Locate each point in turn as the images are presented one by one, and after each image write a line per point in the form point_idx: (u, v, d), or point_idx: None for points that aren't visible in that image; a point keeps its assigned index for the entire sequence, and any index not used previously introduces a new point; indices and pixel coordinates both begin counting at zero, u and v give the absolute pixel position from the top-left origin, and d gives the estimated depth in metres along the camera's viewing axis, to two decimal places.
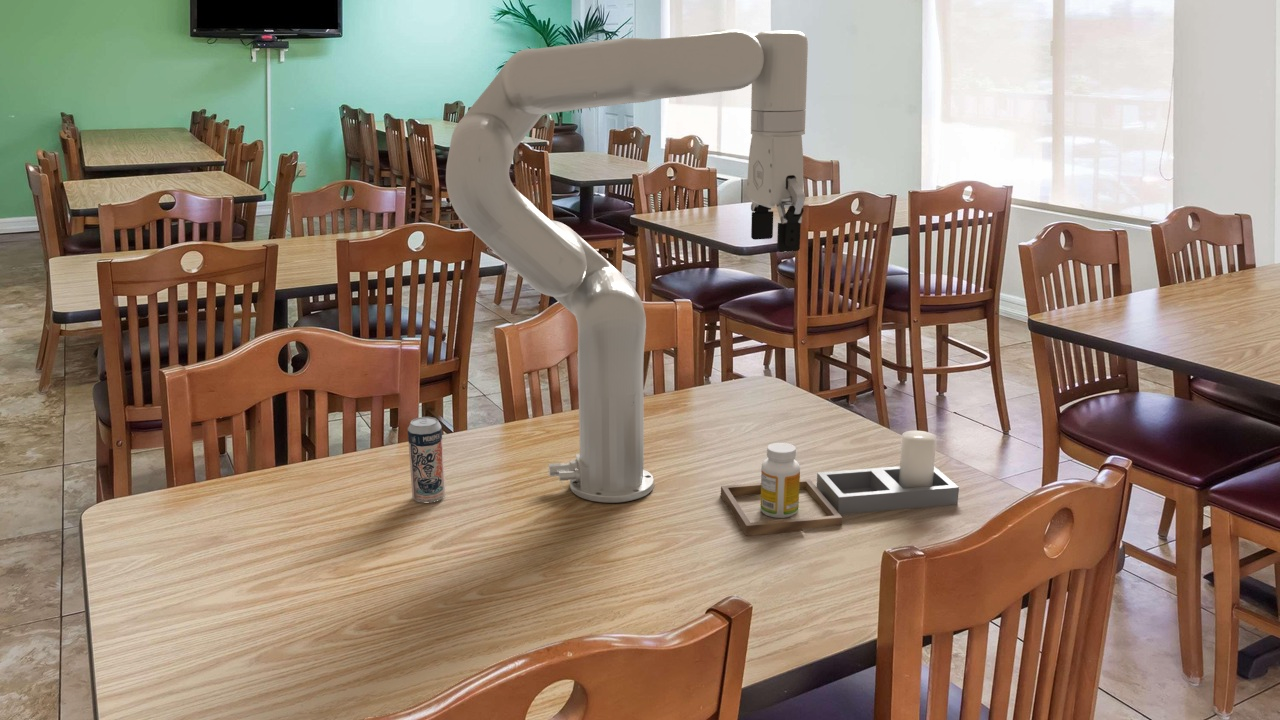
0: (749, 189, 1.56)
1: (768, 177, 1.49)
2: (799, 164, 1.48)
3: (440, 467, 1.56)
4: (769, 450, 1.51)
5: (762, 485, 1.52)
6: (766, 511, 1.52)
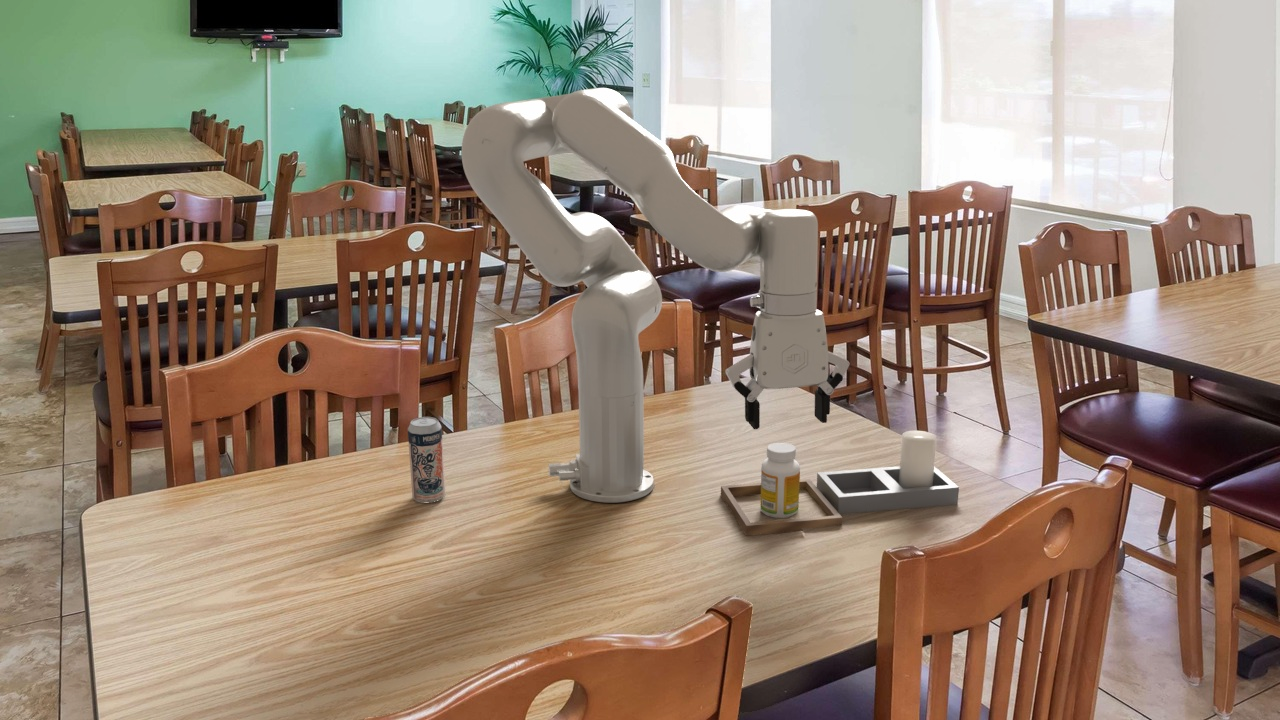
0: (770, 378, 1.45)
1: (819, 355, 1.45)
2: None
3: (440, 467, 1.56)
4: (769, 450, 1.51)
5: (762, 485, 1.52)
6: (766, 511, 1.52)
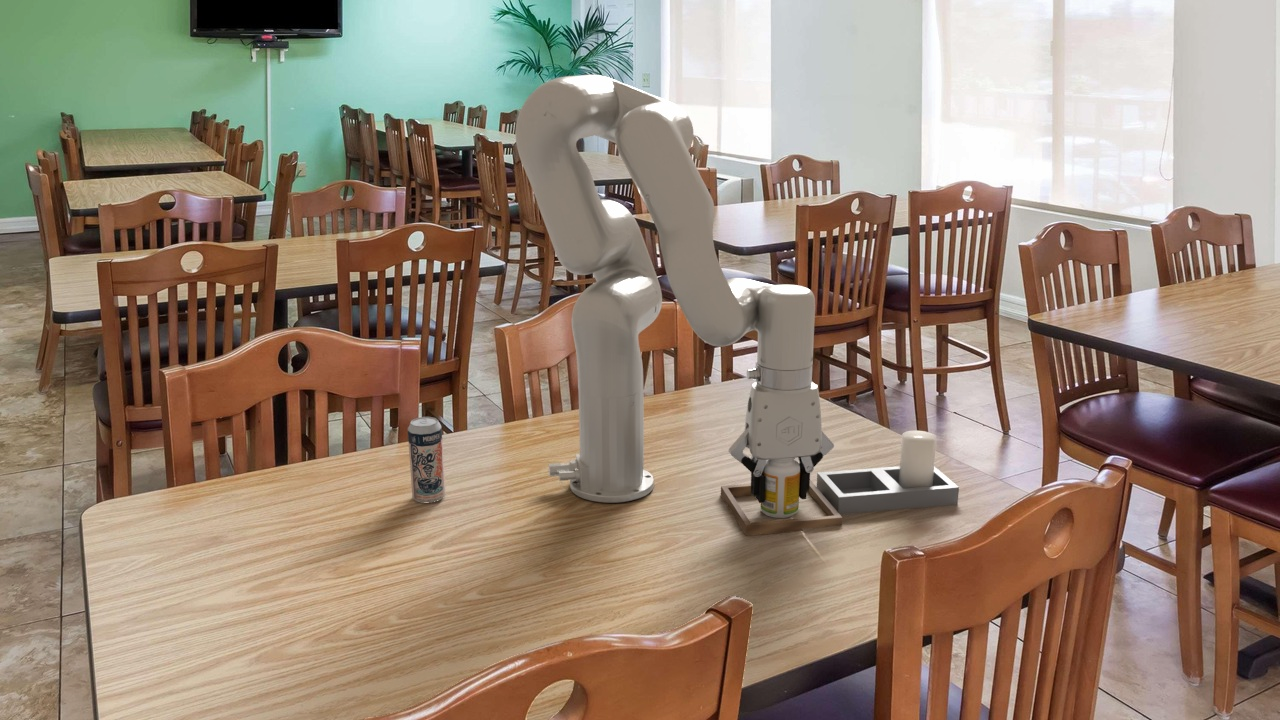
0: (764, 449, 1.48)
1: (812, 428, 1.48)
2: None
3: (440, 467, 1.56)
4: None
5: None
6: (766, 511, 1.52)
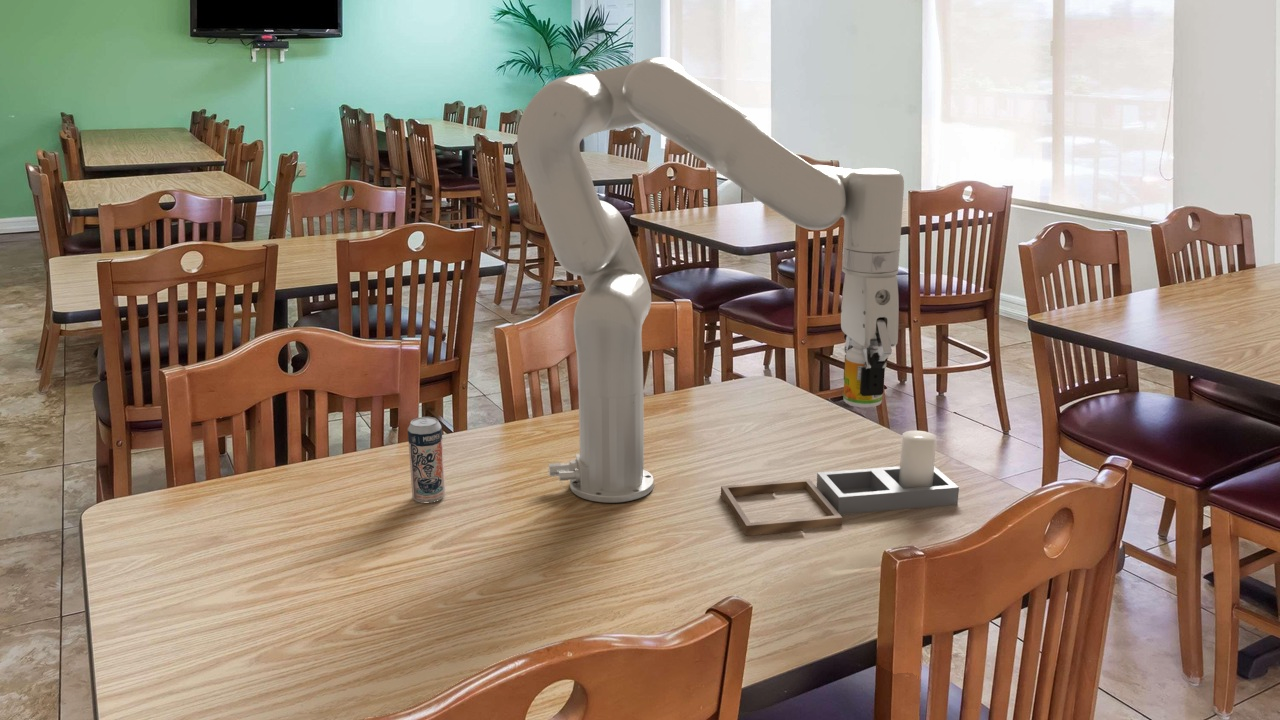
0: None
1: None
2: None
3: (440, 467, 1.56)
4: None
5: None
6: (878, 401, 1.51)
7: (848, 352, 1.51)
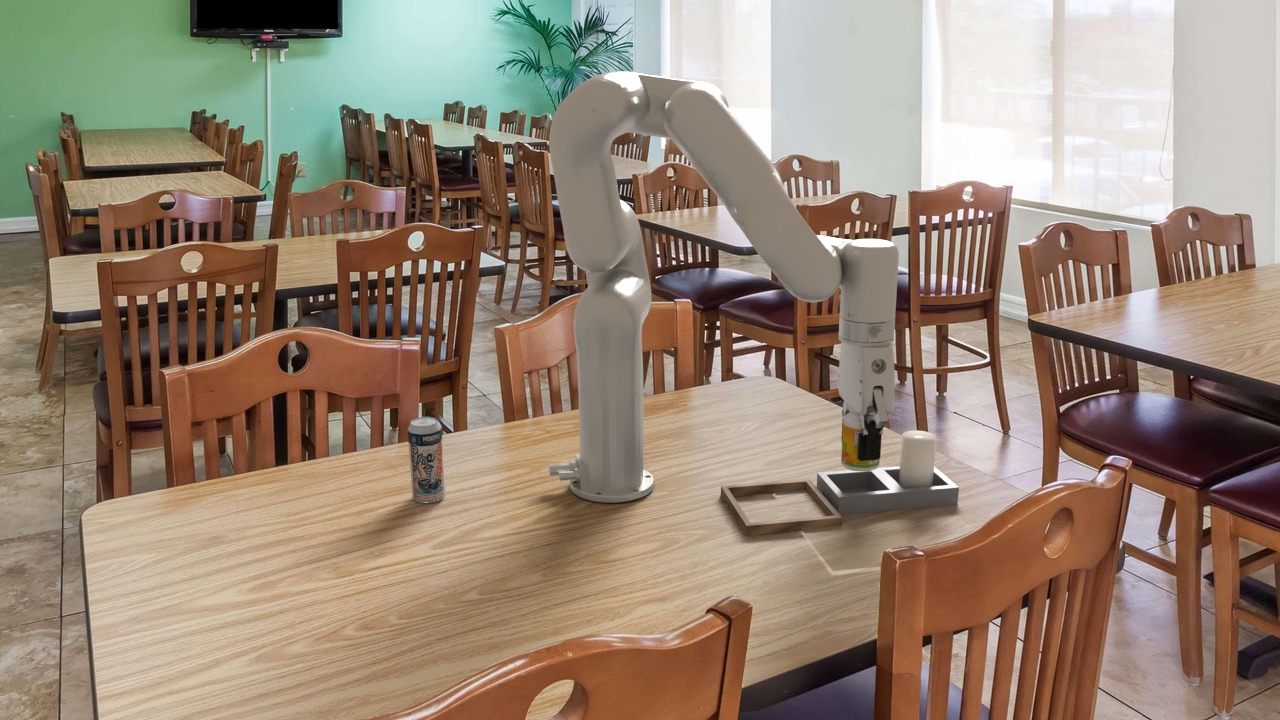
0: None
1: None
2: None
3: (440, 467, 1.56)
4: None
5: None
6: (875, 465, 1.54)
7: (845, 417, 1.53)
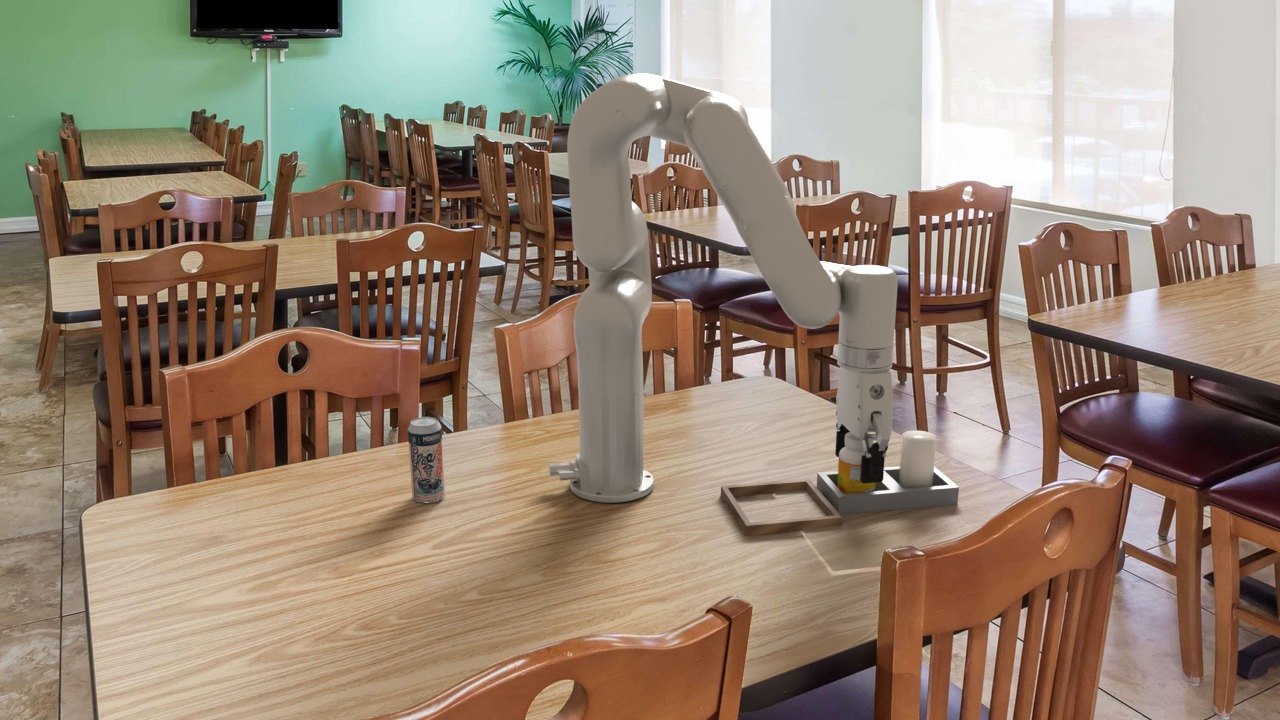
0: None
1: None
2: None
3: (440, 467, 1.56)
4: None
5: None
6: None
7: (841, 451, 1.55)
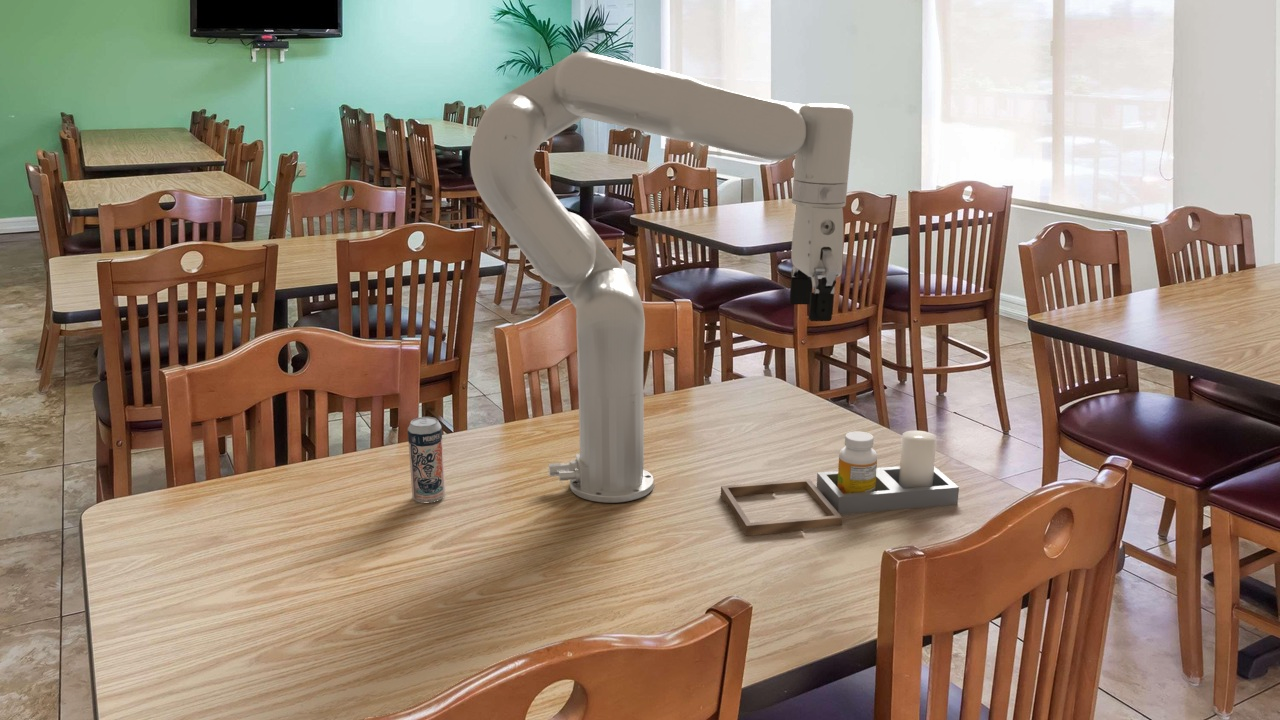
0: None
1: None
2: None
3: (440, 467, 1.56)
4: (867, 441, 1.53)
5: (865, 478, 1.54)
6: None
7: (841, 451, 1.55)
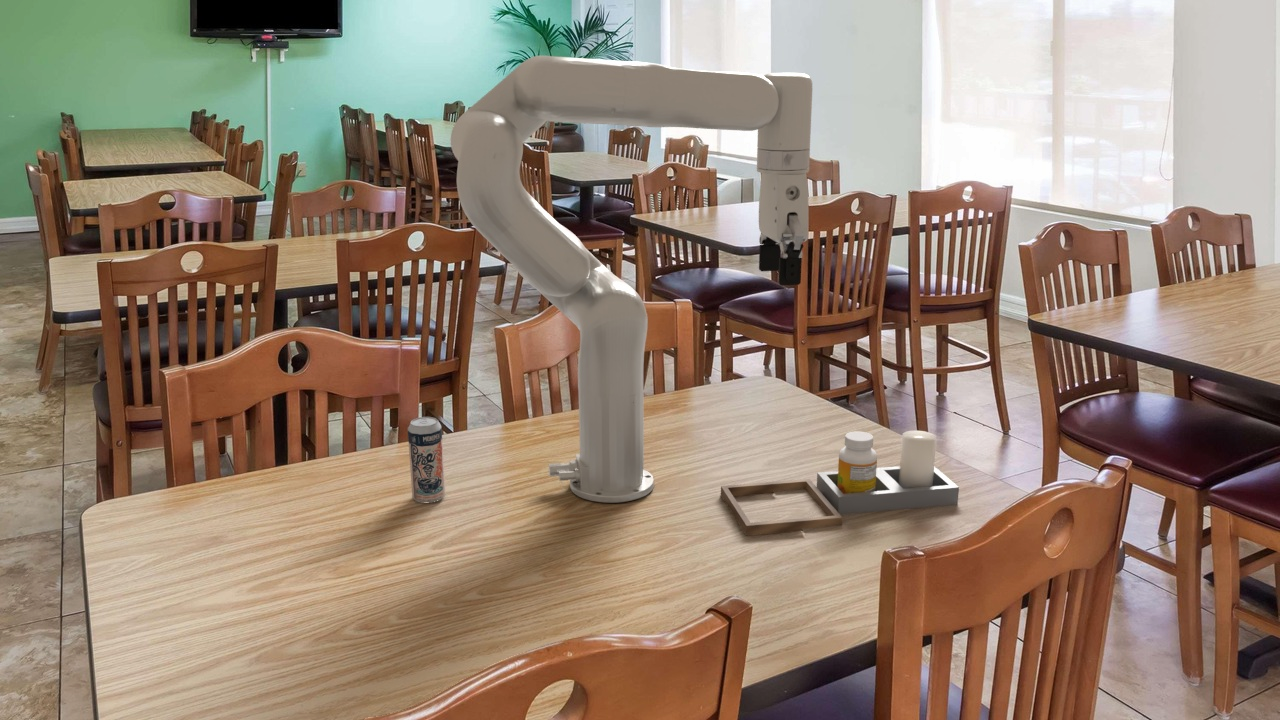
0: None
1: None
2: None
3: (440, 467, 1.56)
4: (867, 441, 1.53)
5: (865, 478, 1.54)
6: None
7: (841, 451, 1.55)
